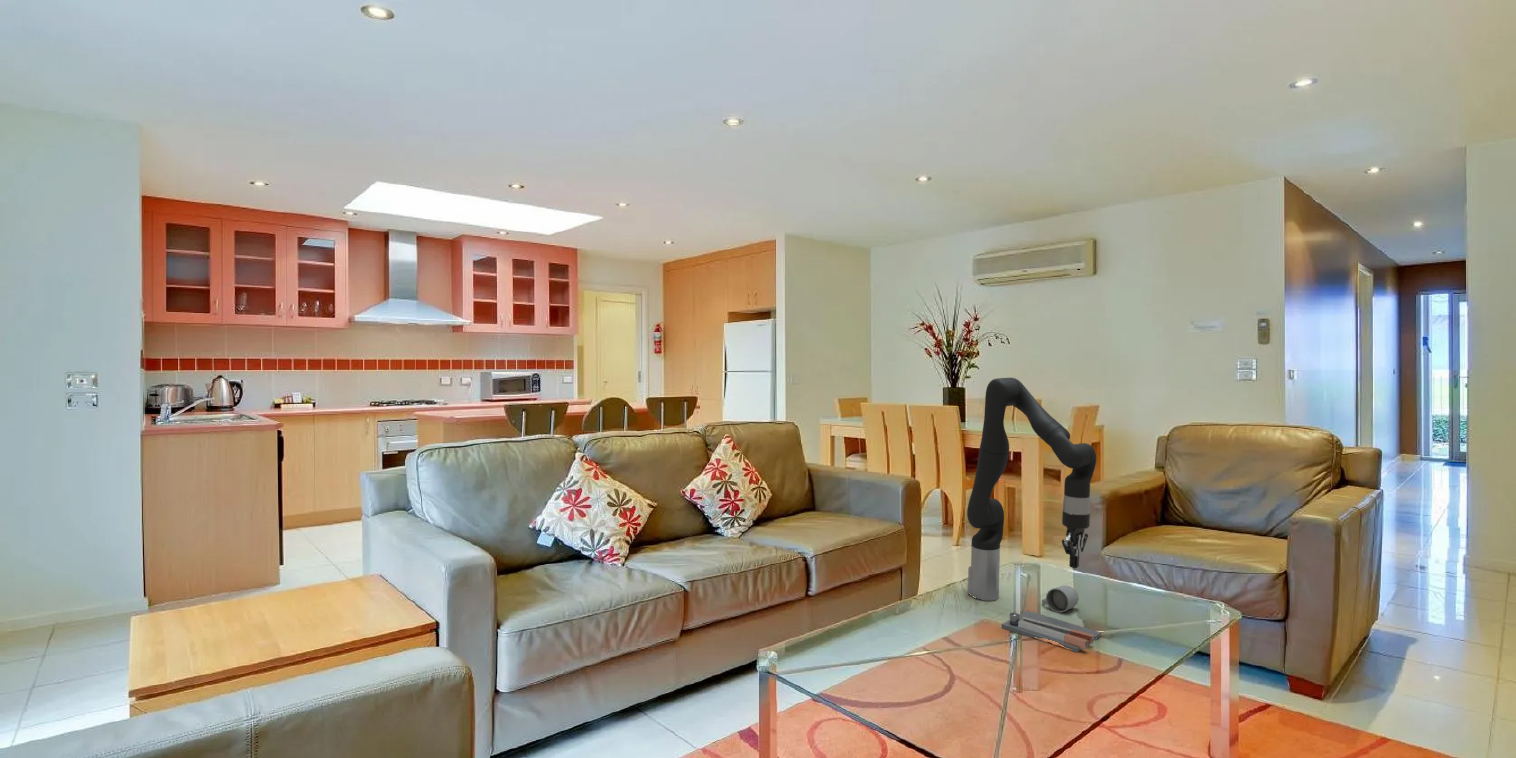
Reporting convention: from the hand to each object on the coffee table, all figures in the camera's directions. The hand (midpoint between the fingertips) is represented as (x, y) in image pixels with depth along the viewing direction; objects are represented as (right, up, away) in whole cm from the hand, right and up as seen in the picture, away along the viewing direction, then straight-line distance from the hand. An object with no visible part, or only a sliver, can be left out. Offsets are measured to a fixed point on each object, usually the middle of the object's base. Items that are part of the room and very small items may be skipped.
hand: (1074, 567), depth 222 cm
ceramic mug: (+3, -18, +19) cm, 27 cm away
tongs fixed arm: (-10, -19, -5) cm, 22 cm away
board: (-7, -20, 0) cm, 21 cm away
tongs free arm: (-7, -18, -4) cm, 20 cm away
